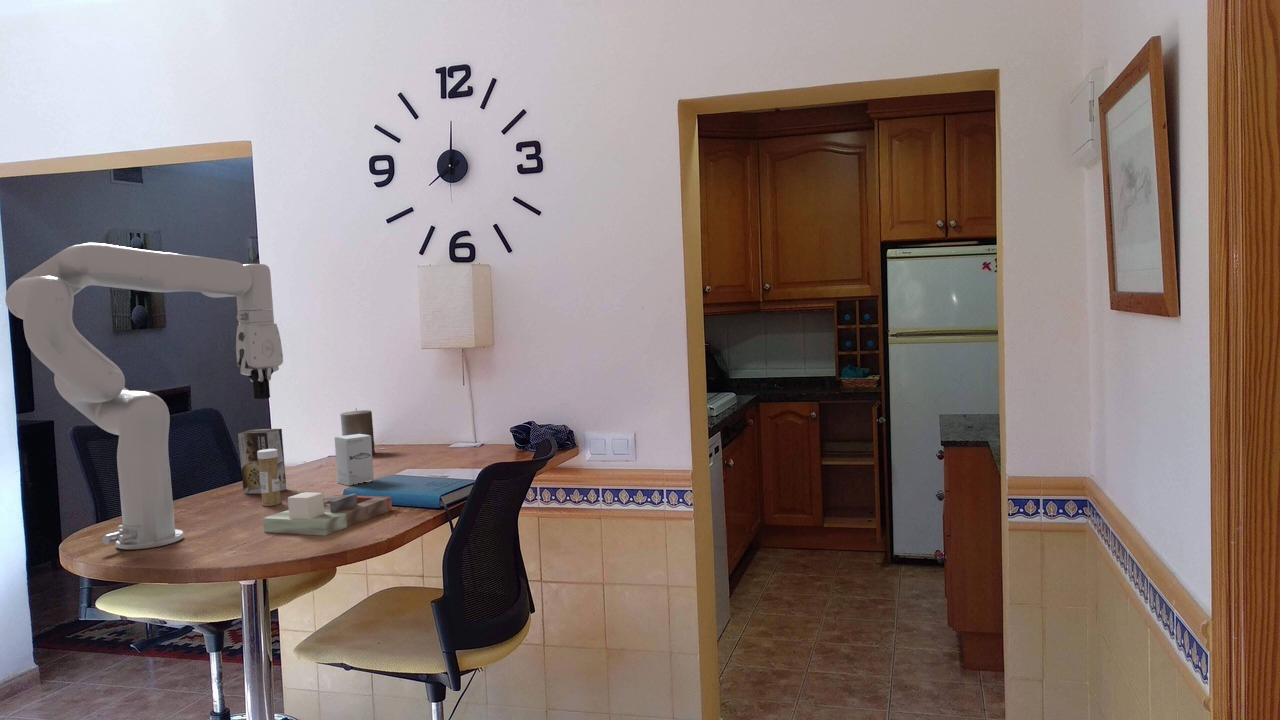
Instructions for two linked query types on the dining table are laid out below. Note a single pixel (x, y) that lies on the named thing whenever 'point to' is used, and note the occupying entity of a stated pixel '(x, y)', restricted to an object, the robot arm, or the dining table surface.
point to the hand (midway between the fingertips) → (262, 398)
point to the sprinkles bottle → (269, 477)
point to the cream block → (306, 505)
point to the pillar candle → (358, 424)
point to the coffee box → (249, 460)
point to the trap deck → (330, 515)
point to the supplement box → (354, 459)
